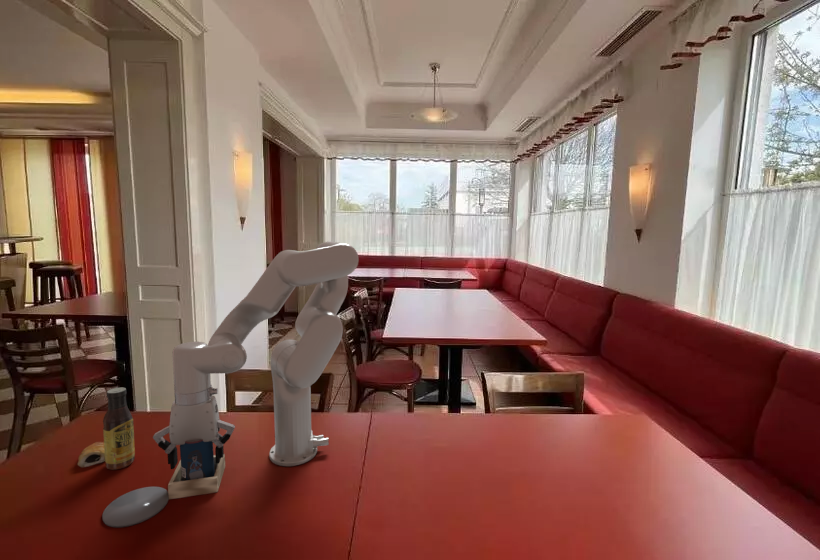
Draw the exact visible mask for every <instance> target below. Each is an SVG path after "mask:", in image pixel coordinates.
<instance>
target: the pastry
mask: <svg viewBox="0 0 820 560" xmlns="http://www.w3.org/2000/svg"><path fill="white" fill-rule="evenodd" d="M102 463H105V452H104V441H95V442H94V443H91V444H89V445H87V446H86V447H85V448H84V449H82V451H81V453H80V454H79V455H78V461H77V466H78V467H80V468H87V467H91V466H94V465H97V464H102Z"/></svg>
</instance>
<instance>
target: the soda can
mask: <svg viewBox="0 0 820 560" xmlns="http://www.w3.org/2000/svg"><path fill="white" fill-rule="evenodd" d="M179 451H180V453H179V455H180V460H181V472H182V480H181V481H187V480H194V479H201V478H208V477H214V475H215V472H216V470H214V455H215V454H214V443H213V442H212V441H209V442H204V441H203V439H202V440H199V441H195V442H186V441H185V444H183V445H179Z"/></svg>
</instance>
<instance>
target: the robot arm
mask: <svg viewBox="0 0 820 560" xmlns="http://www.w3.org/2000/svg"><path fill="white" fill-rule="evenodd" d="M359 260H360V259H359V254H358V252H357V250H356V248H354V246H352V245H350V244H348V243H346V242H337V241H324V242H321V243H319V244H318V245H317V246H316V247H315V248H314V249H309V250H308V249H307V250H302V251H301V250H300V251H298V250H294V249H293V250H292V249H285V250H281V251H280V252H278V254H276V256H275V257H274V258H273V259H272V260H271V262H270V263H269V265H268V266H267V268H266V269H265V270H264V272H263V273H262V274H261V276H260V277H259V278H258V280H257V281H256V282H255V284H254V285H253V287H252V288H251V289H250V290H249V292H248V293H247V294H246V296H245V297H244V298H242V300H241V301H239V303H238V304H237V305H236V306H235V307H234V308H233V309H232V310H231V311H230V312H229V313H228V314H227V315H226V316H225V317H224V319H223V320H222V322H221V323H220V324H219V326H218V327H217V328H216V330H215V331H214V332H213V334H212V335H211V336H210V339H209V340H208V343H205V342H204V341H188V342H182V343H180V344H177V345H175V347H174V348H173V350H172V356H171V357H172V371H173V385H174V386H173V390H174V400H173V401H172V404H171V408H170V409H171V410H170V416H169V425H168V426H166V427H164V428H162V429H161V430H158V431H157V432H155V433H154V434H153V436H152V439H153V440H154V441H155V443H156V444H157V446H158V447H159V448H160V449H161V450H163V451H164V453H165V454H167V465H170V466H169V467H170V470H174V469H176V467H177V465H178V463H179V460H178V459H179V458H178V447H177V446H180V445H183V444H185V441H186V442H195V441H199V440H202V439H203V441H204V442H209V441H212V442H213V445H215V448H214V449H215V450H214V451H215V452H214V453H215V454H214V455H215V456H216V463H219V462H220V459H221V458H223V456H224V454H225V453H224V451H225V450H224V448H225V447H224V445H225V444H226V443H227V442H228V441H229V439H231V436H232V434H233V433H234V430H235V427H236V426H235V424H232V423H230V422H227V421H224V420H221V419H220V412H219V407H218V402H217V398H216V396H215V395H218V394H219V389H218V388H214V386H213V385H212V380H211V379H212V378H211V375H212V374H232V373H235V372H238V371H240V370H241V369H242V368H243V367H244V366H245V364H246V362H247V359H248V356H247V355H248V354H247V351H246V348H245V347H244V346H243V345H242V344H243V343H244V341H245V340H246V339H247V337H248V336H249V335H250V333H251V332H252V331H253V330H254V329H255V328H256V327H257V326H258V325H259V324H261V323H262V322H263V321H266V320H269V319H271V318H273V317H274V316H276V315H277V314H278V313H279V311H280V310H281V309H282V307H283V306H284V305H285V303H286V302H287V300H288V299H289V297H290V296H291V294H292V293H293V291H294V290H295V289H296V287H307V286H311V285H312V286H313V285H315V287H314V289H313V290H312V291H313V292H312V293H311V295H310V296H309V298H308V300H307V301H306V303H305V304H304V306H303V307H302V309H301V311H299V312H300V313H299V314H298V315H297V318H296V320H295V324H294V326H295V330H296V332H297V334H298V335H299V336H300V339H299V340H296V339H285V340H284V339H283V340H282V341H280V342H279V343H277V344H276V345H275V346H274V348H273V350H272V351H271V355H270V370H271V371H270V372H271V377H272V388H273V389H272V390H273V412H274V413H273V414H274V415H273V417H274V445H273V446H272V447H271V448H270V450H269V454H268V455H269V459H270V462H272V463H273V464H275V465H277V466H281V467H295V466H300V465H303V464H306V463H307V462H309V461H311V460H312V459H314V457H315V456H316V455H317V453H318V447H321V446H322V447H323V446H329V441H330V440H329V437H324V434H319V435H315V434H313V430H312V401H311V398H312V396H311V395H312V394H311V393H312V392H311V386H312V385H313V384H315V383H316V382H317V381H318V379H319V378H320V376H321V375H322V374H323V372H324V370H325V368H326V367H327V366H328V364H329V362H330V360H331V359H332V357H333V355H334V353H335V352H336V350H337V348H338V346H339V344H340V342H341V340H342V337H343V331H344V327H343V323H342V321H341V318H340V317H339V316H338V315H337V314H338V312H339V310H340V309H341V306H342V305H343V303H344V302H345V299H346V296H347V293H348V288H349V277H348V276H349V275H351V274H352V273H353V272H354V271H355V270H356V269H357V267H358V266H359ZM221 429H222V430H225V431H226V432H225V434H224V435H222V434H221V433H220V430H221ZM167 434H168V436H169V441H168V440H167V439H166V438H164V436H166V435H167Z"/></svg>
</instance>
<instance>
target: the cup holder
mask: <svg viewBox="0 0 820 560" xmlns="http://www.w3.org/2000/svg"><path fill="white" fill-rule="evenodd" d="M225 455H226V454H225V453H224V456H223V458H221V459H220V462H219V463H216V456H215V454H214V471H215V474H214V477H208V478H201V479H194V480H187V481H182V472H181V459H180V460H179V461H178V463H177V465H176V467H175V470H174V473H173V475H172V476H171V478H170V480H169V482H168V485H167V491H168V494H169V500H174V499H181V498H188V497H193V496H201V495H207V494H214V493H218V492H219V490H220V489H219V488H220V485H221V482H222V479H223V476H224V472H225V468H226V457H225Z"/></svg>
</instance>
